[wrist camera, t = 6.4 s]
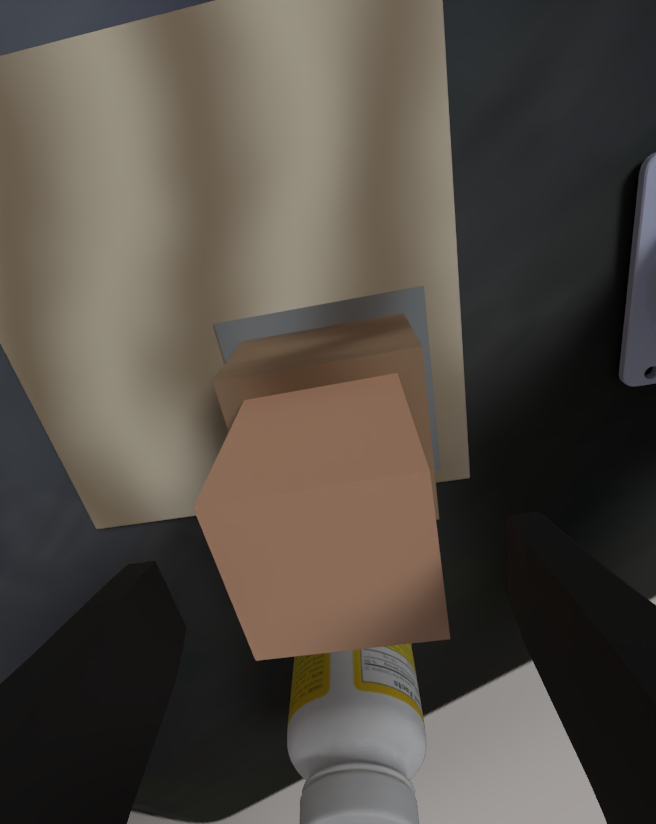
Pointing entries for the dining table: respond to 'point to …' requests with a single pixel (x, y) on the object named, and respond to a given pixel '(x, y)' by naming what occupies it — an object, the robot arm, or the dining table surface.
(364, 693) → the supplement bottle
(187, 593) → the dining table surface
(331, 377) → the walnut block
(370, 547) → the terracotta block
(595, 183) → the dining table surface
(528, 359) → the dining table surface
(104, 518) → the board
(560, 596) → the robot arm
